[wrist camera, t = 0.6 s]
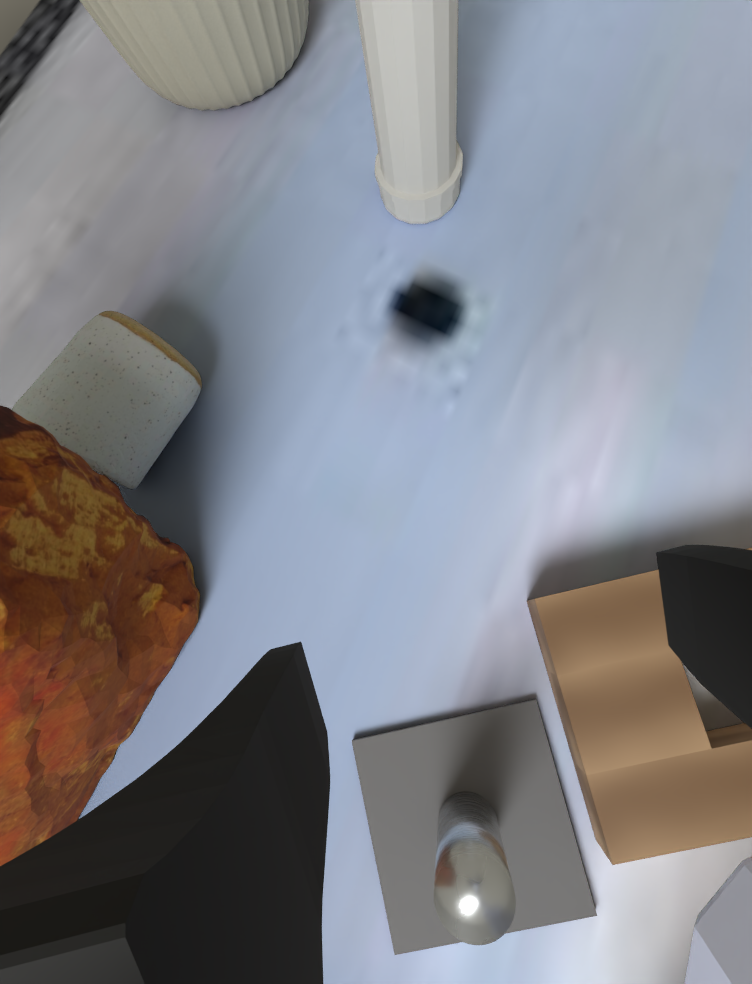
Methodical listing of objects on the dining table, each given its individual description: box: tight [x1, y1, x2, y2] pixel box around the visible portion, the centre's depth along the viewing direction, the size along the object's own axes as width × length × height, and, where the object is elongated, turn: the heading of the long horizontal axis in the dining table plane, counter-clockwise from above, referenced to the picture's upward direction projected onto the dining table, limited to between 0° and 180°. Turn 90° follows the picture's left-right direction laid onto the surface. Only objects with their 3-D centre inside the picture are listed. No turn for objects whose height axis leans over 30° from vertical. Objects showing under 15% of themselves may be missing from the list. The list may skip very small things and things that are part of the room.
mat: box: [352, 699, 597, 955], centre depth 29 cm, size 10×10×1 cm
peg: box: [434, 791, 516, 945], centre depth 25 cm, size 3×3×8 cm
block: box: [527, 548, 752, 865], centre depth 28 cm, size 12×16×3 cm
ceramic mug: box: [12, 311, 202, 489], centre depth 33 cm, size 11×8×8 cm
